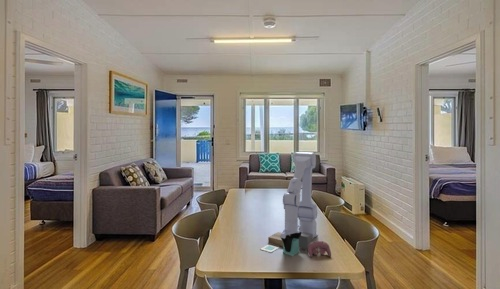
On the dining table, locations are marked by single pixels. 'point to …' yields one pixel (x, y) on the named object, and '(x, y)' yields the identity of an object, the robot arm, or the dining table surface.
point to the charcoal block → (305, 240)
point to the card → (269, 248)
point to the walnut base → (275, 239)
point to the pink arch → (318, 244)
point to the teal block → (293, 247)
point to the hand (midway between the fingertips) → (290, 249)
